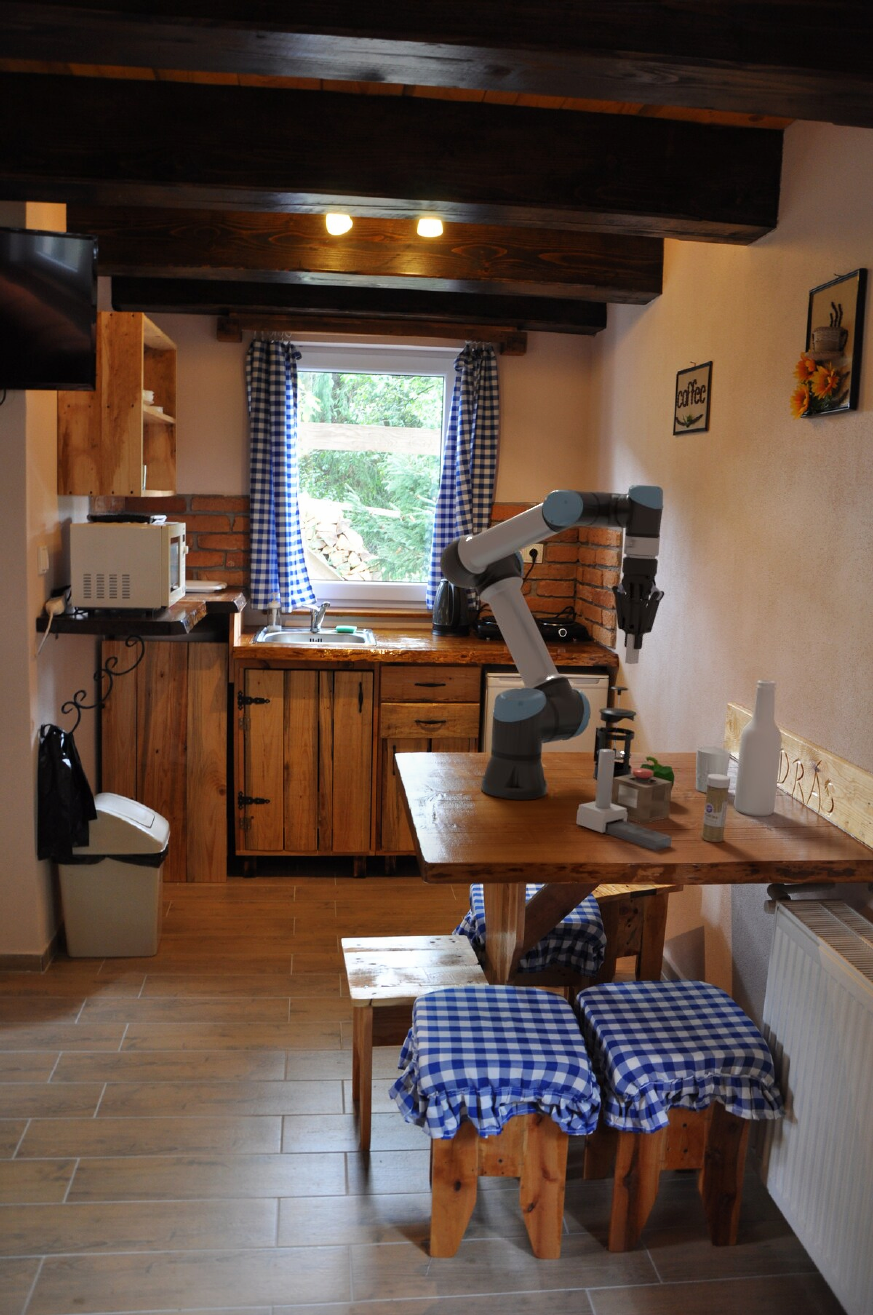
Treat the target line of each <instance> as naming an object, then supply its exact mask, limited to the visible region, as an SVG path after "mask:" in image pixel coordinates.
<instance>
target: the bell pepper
mask: <svg viewBox="0 0 873 1315" xmlns="http://www.w3.org/2000/svg"><path fill="white" fill-rule="evenodd" d="M645 760H646V761H647V762H649V761H652V763H653V764H648V763H642V764H641V766H640V767H639V768H643V769H649V770H652V771H653V772H654V773H653V777H657V778H660V779H663V780H667V781H670V782H672V788H671V792H672V791H673V788H674V783H675V774H674V771H673V768H672V766H669V765H664V766H663V765H662V764H660V763H659V761H658V759H656V758H655V757H654V756H653V757H652V756H646V757H645Z"/></svg>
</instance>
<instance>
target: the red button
mask: <svg viewBox="0 0 873 1315" xmlns="http://www.w3.org/2000/svg"><path fill="white" fill-rule="evenodd" d="M653 773H654V772H653V771H652V770H649V769H643V768H640V767H638V768H637V767H636V768H633V769H632V774H633V775H634V776H635V781H636V782H640V783H643V784H646V783H650V778H652V777H653Z"/></svg>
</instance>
